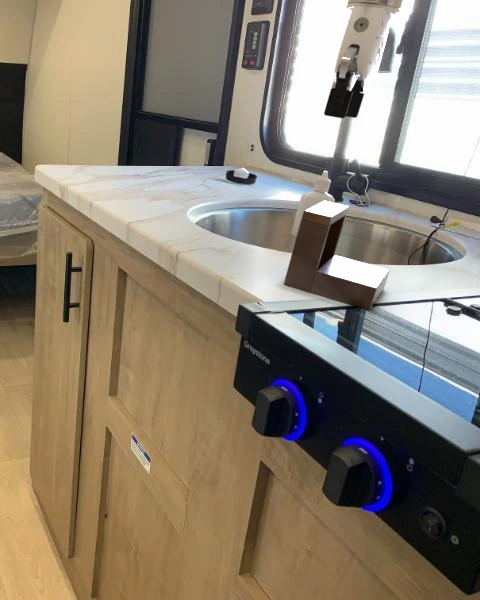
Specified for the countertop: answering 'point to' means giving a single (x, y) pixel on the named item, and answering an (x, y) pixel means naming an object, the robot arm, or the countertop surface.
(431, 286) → the countertop surface
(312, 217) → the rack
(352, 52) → the robot arm
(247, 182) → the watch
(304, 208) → the eye dropper bottle
